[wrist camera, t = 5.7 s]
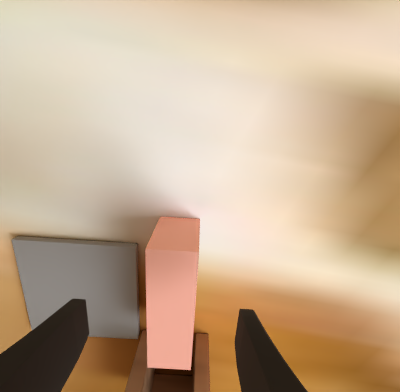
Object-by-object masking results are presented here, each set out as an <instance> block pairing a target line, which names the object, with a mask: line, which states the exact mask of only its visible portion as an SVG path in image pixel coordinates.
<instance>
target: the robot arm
mask: <svg viewBox="0 0 400 392" xmlns="http://www.w3.org/2000/svg"><path fill="white" fill-rule="evenodd" d="M88 335H89V324H88V316H87V307H86V299H71V300H70V301H69V302H67V303H66V304H65V305H64V306H62V307H61V308H60V309H59V310H57V311H56V312H55V313H54V314H52V315H51V316H50V317H49V318H47V319H46V320H45V321H44V322H42V323H41V324H40V325H39V326H37V327H36V328H35V329H33V330H32V331H31V332H30V333H28V334H27V335H26V336H24V337H23V338H22V339H20V340H19V341H18V342H16V343H15V344H14V345H12V346H11V347H10V348H8V349H7V350H5V351H4V352H3V353H1V354H0V392H61V390H62V388H63V386H64V385H65V383H66V381H67V379H68V377H69V375H70V374H71V372H72V370H73V368H74V366H75V364H76V362H77V361H78V359H79V357H80V354H81V352H82V350H83V347H84V345H85V343H86V340H87V338H88ZM235 351H236V362H237V370H238V375H239V380H240V386H241V391H242V392H308V391H307V390H306V389H305V388H304V386H303V385H302V384H301V382H300V381H299V380H298V378H297V377H296V376H295V374H294V373H293V371H292V370H291V369H290V367H289V366H288V364H287V363H286V362H285V360H284V359H283V357H282V356H281V354H280V353H279V351H278V350H277V348H276V347H275V345H274V344H273V342H272V340H271V339H270V337H269V336H268V334H267V332H266V331H265V329H264V327H263V326H262V324H261V322H260V321H259V319H258V317H257V315H256V313H255V312H254V311H253V310H249V309H240V311H239V317H238V323H237V330H236V336H235Z"/></svg>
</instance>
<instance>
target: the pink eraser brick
mask: <svg viewBox="0 0 400 392" xmlns="http://www.w3.org/2000/svg"><path fill="white" fill-rule="evenodd" d="M199 231H200V219H192V218H176V217H160V218H159V220H158V222H157V225H156V227H155V229H154V231H153V233H152V236H151V238H150V240H149V242H148V244H147V247H146V249H145V256H146V313H147V368H164V369H182V370H191V360H192V346H193V331H194V316H195V302H196V287H197V273H198V258H199Z"/></svg>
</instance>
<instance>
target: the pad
mask: <svg viewBox="0 0 400 392" xmlns="http://www.w3.org/2000/svg"><path fill="white" fill-rule="evenodd" d="M12 244H13V248H14V253H15V257H16V262H17V266H18V271H19V275H20V280H21V284H22V289H23V293H24V298H25V302H26V306H27V311H28V315H29V320H30V324H31V329H32V330H33V329H35V328H36V327H37V326H39V325H40V324H41V323H42V322H44V321H45V320H46V319H47V318H49V317H50V316H51V315H52V314H54V313H55V312H56V311H57V310H59V309H60V308H61V307H62V306H64V305H65V304H66V303H67V302H69V301H70V300H71V299H86V307H87V316H88V324H89V335H88V336H90V337H107V338H124V339H138V338H139V334H140V326H139V286H138V245H137V244H135V243H120V242H104V241H88V240H73V239H57V238H41V237H26V236H17V237H15V238H13V239H12Z"/></svg>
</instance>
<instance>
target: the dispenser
mask: <svg viewBox="0 0 400 392" xmlns="http://www.w3.org/2000/svg"><path fill="white" fill-rule="evenodd" d="M125 392H210V376H209V340H208V334H202V333H196V340H195V352H194V365H193V376H185V375H168V374H155V368H147V330H143V331H142V334H141V337H140V341H139V344H138V348H137V351H136V355H135V358H134V362H133V365H132V369H131V372H130V375H129V379H128V382H127V386H126V389H125Z"/></svg>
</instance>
